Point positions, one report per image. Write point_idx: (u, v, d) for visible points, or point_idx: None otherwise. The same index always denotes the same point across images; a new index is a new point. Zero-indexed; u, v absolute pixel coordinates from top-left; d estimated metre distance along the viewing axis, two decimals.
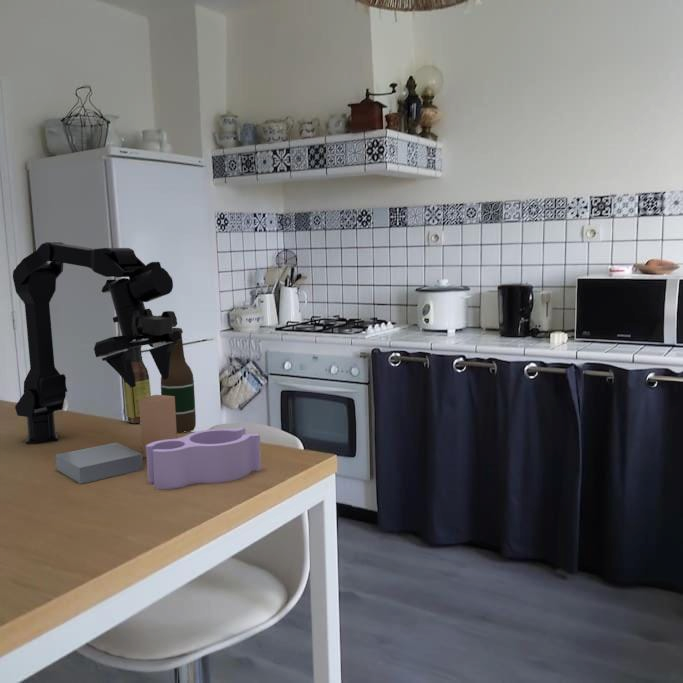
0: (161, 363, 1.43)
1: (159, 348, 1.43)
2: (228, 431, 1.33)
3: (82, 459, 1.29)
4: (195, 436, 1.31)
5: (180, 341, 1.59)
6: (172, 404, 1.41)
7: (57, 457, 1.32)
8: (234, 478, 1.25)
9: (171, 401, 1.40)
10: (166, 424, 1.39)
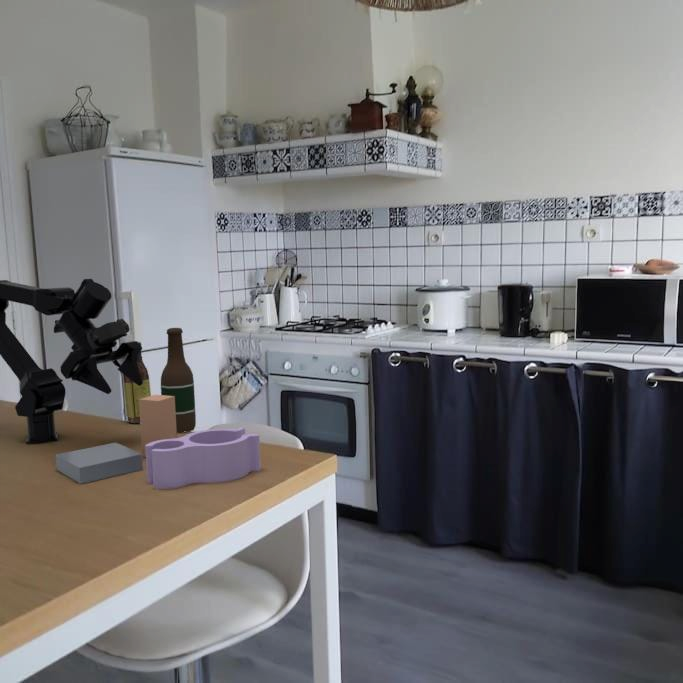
0: (131, 373, 1.48)
1: (125, 361, 1.49)
2: (228, 431, 1.33)
3: (82, 459, 1.29)
4: (195, 436, 1.31)
5: (180, 341, 1.59)
6: (172, 404, 1.41)
7: (57, 457, 1.32)
8: (233, 478, 1.25)
9: (171, 401, 1.40)
10: (166, 424, 1.39)
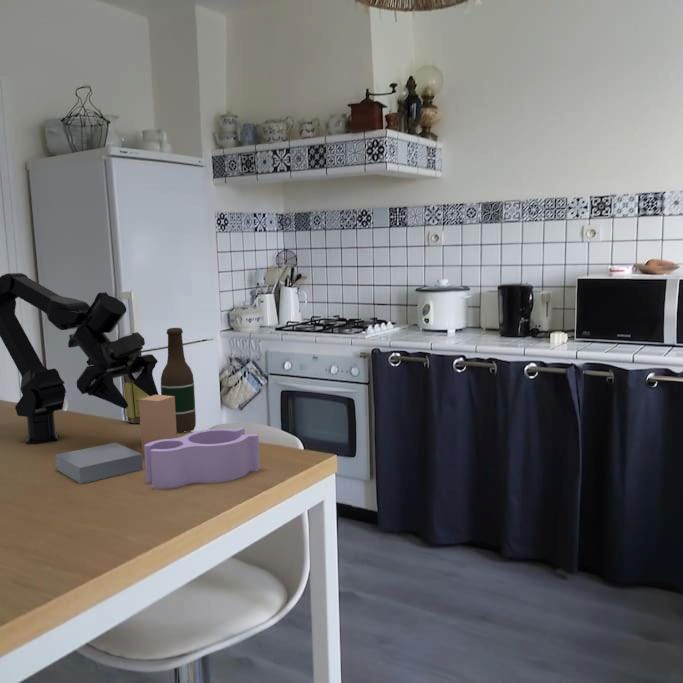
0: (147, 386, 1.47)
1: (140, 375, 1.48)
2: (227, 431, 1.33)
3: (82, 459, 1.29)
4: (194, 436, 1.31)
5: (180, 341, 1.59)
6: (172, 404, 1.41)
7: (57, 457, 1.32)
8: (232, 478, 1.25)
9: (171, 401, 1.40)
10: (166, 424, 1.39)
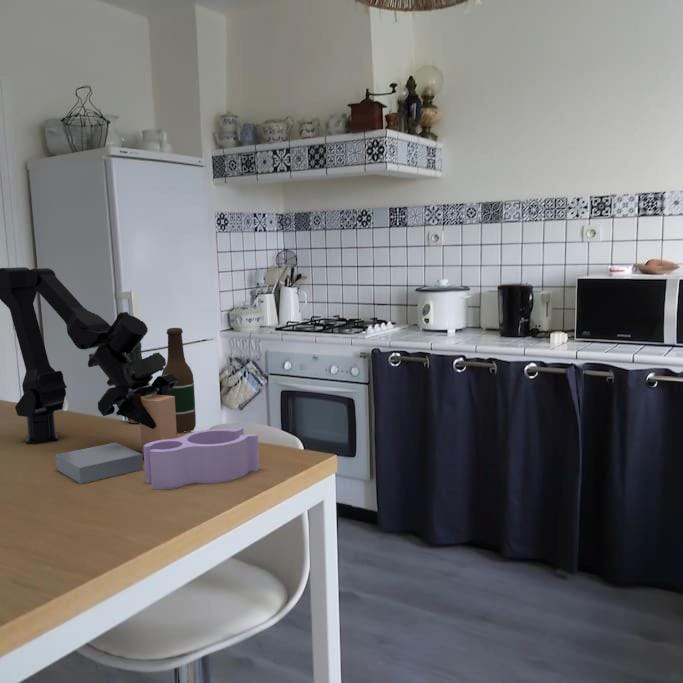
0: None
1: None
2: (226, 431, 1.33)
3: (82, 459, 1.29)
4: (193, 436, 1.31)
5: (180, 341, 1.59)
6: (172, 404, 1.41)
7: (57, 457, 1.32)
8: (231, 478, 1.25)
9: (171, 401, 1.40)
10: (166, 424, 1.39)
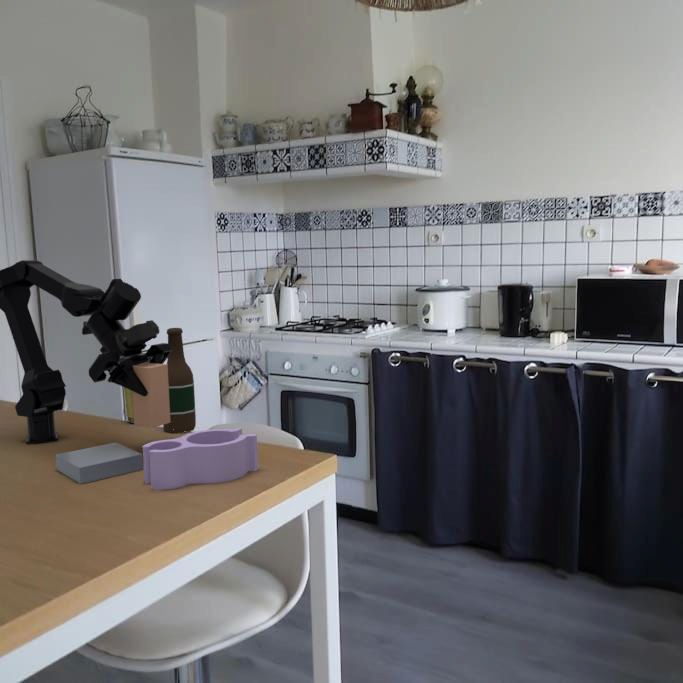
0: None
1: None
2: (225, 431, 1.33)
3: (82, 459, 1.29)
4: (192, 436, 1.31)
5: (180, 341, 1.59)
6: (165, 372, 1.39)
7: (57, 457, 1.32)
8: (231, 478, 1.24)
9: (163, 369, 1.38)
10: (158, 392, 1.37)
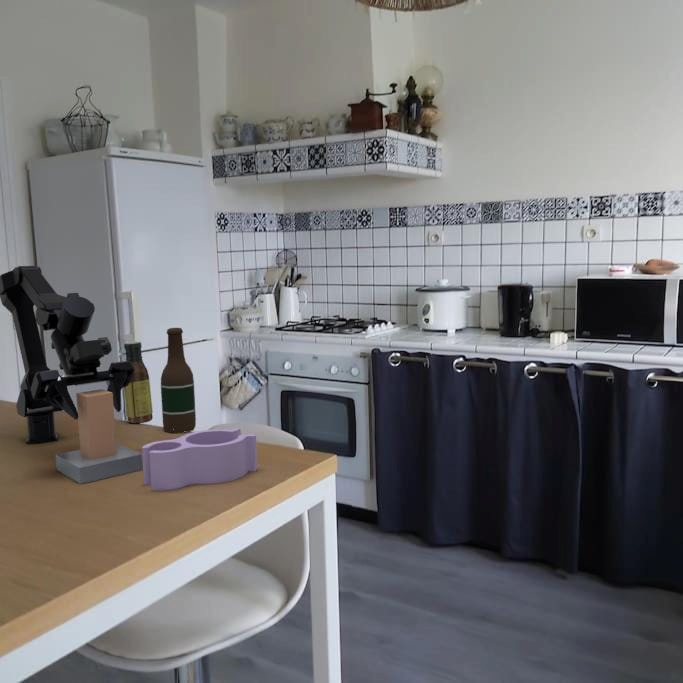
0: (113, 397, 1.35)
1: (110, 383, 1.36)
2: (223, 432, 1.33)
3: (82, 459, 1.29)
4: (191, 437, 1.30)
5: (180, 341, 1.59)
6: (109, 401, 1.30)
7: (57, 457, 1.32)
8: (231, 479, 1.24)
9: (107, 398, 1.30)
10: (99, 422, 1.29)
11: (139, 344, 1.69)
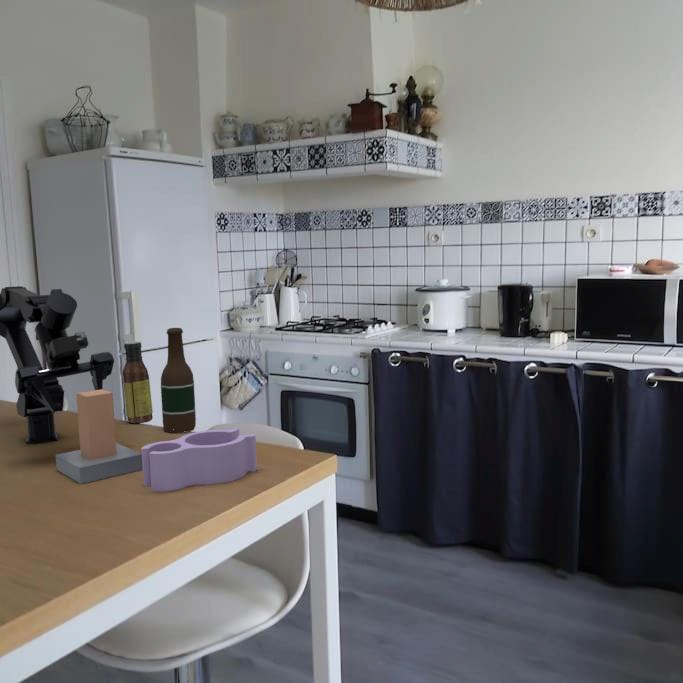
0: (96, 387, 1.42)
1: (93, 374, 1.43)
2: (222, 432, 1.33)
3: (82, 459, 1.29)
4: (189, 438, 1.30)
5: (180, 341, 1.59)
6: (109, 401, 1.30)
7: (57, 457, 1.32)
8: (231, 479, 1.24)
9: (107, 398, 1.30)
10: (99, 422, 1.29)
11: (139, 344, 1.69)
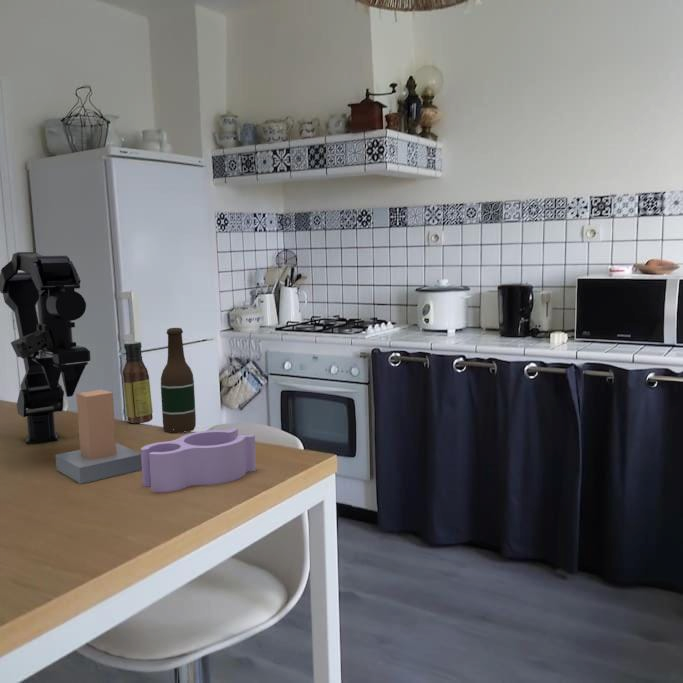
0: None
1: None
2: (221, 432, 1.32)
3: (82, 459, 1.29)
4: (188, 438, 1.29)
5: (180, 341, 1.59)
6: (109, 401, 1.30)
7: (57, 457, 1.32)
8: (231, 479, 1.24)
9: (107, 398, 1.30)
10: (99, 422, 1.29)
11: (139, 344, 1.69)
